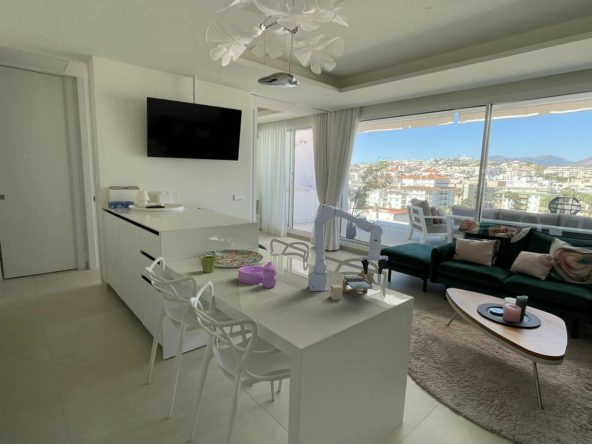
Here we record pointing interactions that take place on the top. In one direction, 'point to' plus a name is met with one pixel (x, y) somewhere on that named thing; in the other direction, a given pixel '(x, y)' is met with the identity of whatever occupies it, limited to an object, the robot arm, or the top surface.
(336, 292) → the block
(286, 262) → the top surface
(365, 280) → the frame
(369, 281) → the rock
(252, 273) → the container set
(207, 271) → the plant pot
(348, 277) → the trapdoor
